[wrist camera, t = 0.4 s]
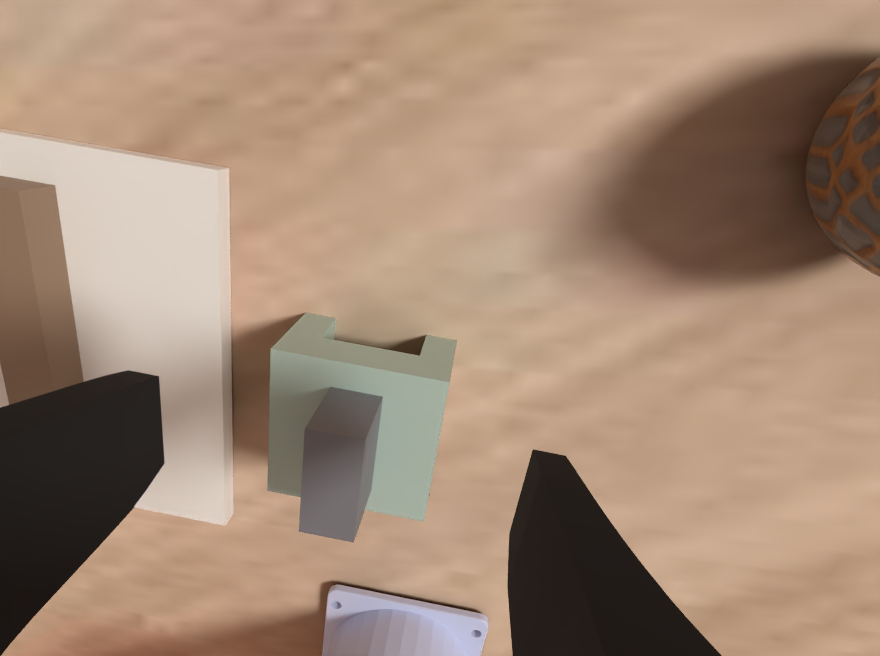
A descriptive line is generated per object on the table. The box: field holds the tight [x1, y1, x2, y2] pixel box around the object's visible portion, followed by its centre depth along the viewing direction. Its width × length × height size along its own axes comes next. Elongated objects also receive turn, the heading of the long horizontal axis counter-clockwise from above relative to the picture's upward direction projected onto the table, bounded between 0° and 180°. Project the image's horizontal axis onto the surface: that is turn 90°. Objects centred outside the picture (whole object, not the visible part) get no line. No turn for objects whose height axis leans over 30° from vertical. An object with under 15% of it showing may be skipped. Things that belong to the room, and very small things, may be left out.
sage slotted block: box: [267, 313, 457, 542], centre depth 18 cm, size 6×6×6 cm
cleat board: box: [0, 128, 234, 526], centre depth 20 cm, size 16×14×2 cm
